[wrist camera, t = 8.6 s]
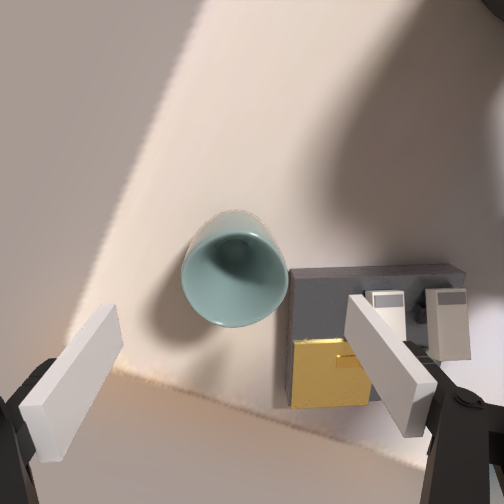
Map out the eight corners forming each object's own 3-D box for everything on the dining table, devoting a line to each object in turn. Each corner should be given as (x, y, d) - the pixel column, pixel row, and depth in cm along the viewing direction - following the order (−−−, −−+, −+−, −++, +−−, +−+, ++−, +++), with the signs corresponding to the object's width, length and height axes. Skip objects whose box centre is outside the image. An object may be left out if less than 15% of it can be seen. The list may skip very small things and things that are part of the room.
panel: (290, 268, 32) (296, 282, 29) (449, 264, 33) (471, 276, 30) (285, 390, 38) (289, 413, 35) (419, 383, 39) (435, 404, 36)
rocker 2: (425, 288, 31) (436, 289, 29) (454, 287, 31) (467, 288, 29) (429, 356, 30) (441, 361, 29) (458, 354, 31) (472, 360, 29)
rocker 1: (365, 290, 30) (373, 292, 29) (394, 289, 31) (404, 291, 29) (368, 359, 30) (376, 364, 28) (398, 357, 30) (408, 363, 29)
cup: (247, 187, 28) (254, 209, 19) (284, 250, 31) (307, 297, 22) (181, 227, 29) (157, 267, 20) (222, 286, 32) (219, 345, 23)
